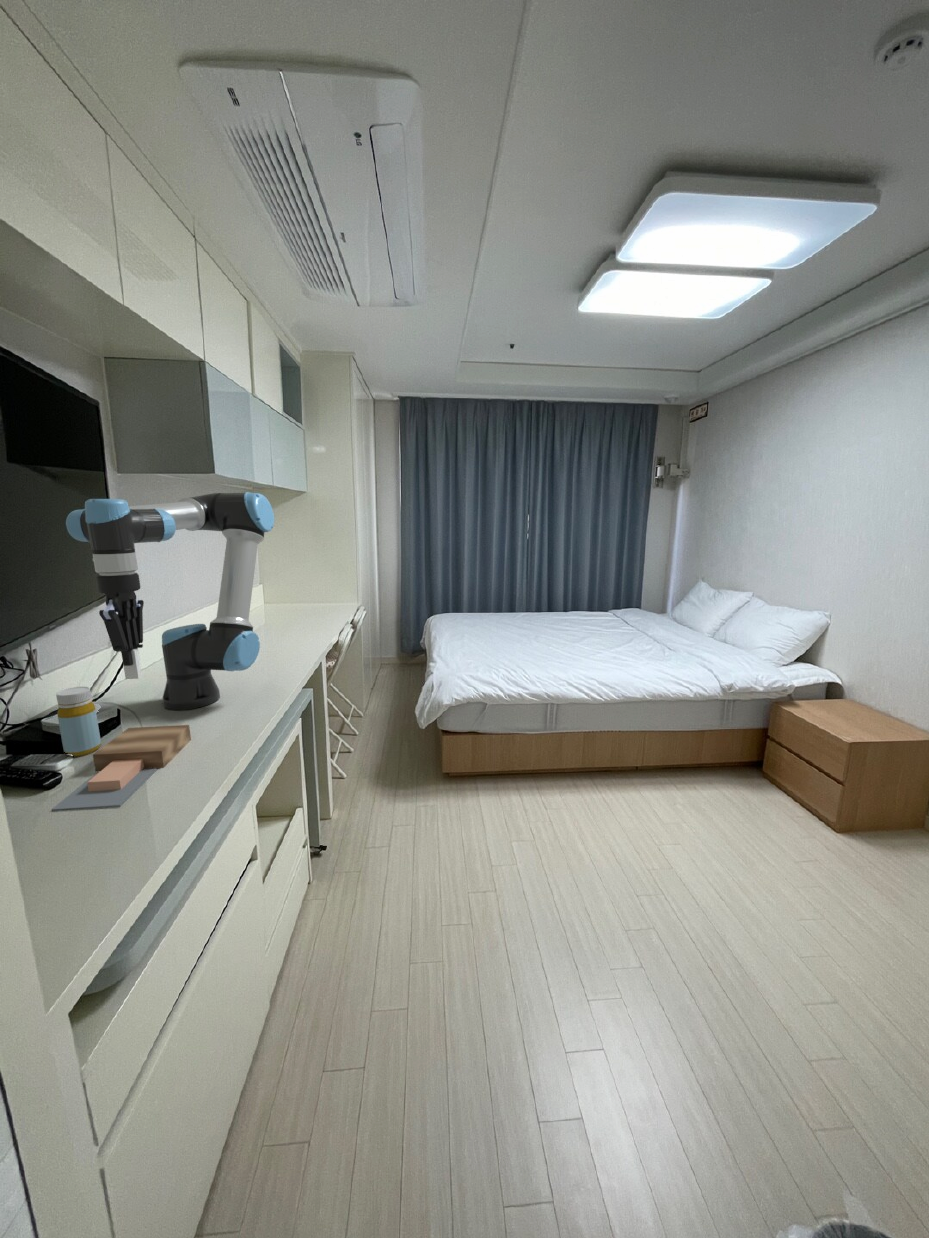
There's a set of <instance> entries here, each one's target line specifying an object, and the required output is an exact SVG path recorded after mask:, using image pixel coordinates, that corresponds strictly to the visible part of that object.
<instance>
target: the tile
mask: <svg viewBox="0 0 929 1238" xmlns="http://www.w3.org/2000/svg"><path fill="white" fill-rule="evenodd" d="M143 768H144V763H143V759H133V760H116V761H112V762H111V763H110V764H109V765H108V766H106V767H105V768H104V769H103V770H102V771H98V772H99V773H98V774H97V775H95V776H94V777H93V778H92V779H91V780H89V781H88V782H87V784H88V789H89V791H103V790H119V789H122V788H123V787H124V786H125V785H126V784H127V783H128V782H129V781H130V780H131V779H132V778H133V777H135V776H136V775H137V774H138V773H139V772H140V771H141V770H142V769H143Z"/></svg>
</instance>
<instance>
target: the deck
mask: <svg viewBox="0 0 929 1238" xmlns="http://www.w3.org/2000/svg"><path fill="white" fill-rule="evenodd" d="M191 740H192V737H191V730H190V724H179V725H162V726H159V725H157V726H156V725H155V726H139V727H138V726H137V727H135V726H134V727H128V728H126V729H125V730H124V731H122V732H121V733H119V734H118V735H117V736H115V738H113V739H112V740H110V741H109V742H108V743H106V744H105V745H104V746H102V747H101V748H99V749H98V750H96V751H95V752H93V754H92V758H93V764H94V770H95V772H100V771H102V770H103V769H104V768H105V767H106V766H108V765H109V764H110V763H111V762H112V761H116V760H133V759H143V763H144V768H143V769H163V768H165V767H166V766H167V765H168V764H169V763H170V762H171V761H172V760H173V759H174V758H175V757H176V756H177V755H178V754H179V753H180V752H181V751H182V750H183V749H184V748H185V747H186V746H187V745H188V744H189V743H190V741H191Z"/></svg>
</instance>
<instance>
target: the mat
mask: <svg viewBox="0 0 929 1238" xmlns="http://www.w3.org/2000/svg"><path fill="white" fill-rule="evenodd" d="M157 769H158V768H149V769H142V770H141V771H140V772H139V773H138V774H137V775H136V776H135V777H133V778H132V779H131V780H130V781H129V782H128V783H127V784H126V785H125V786H124V787H123V788H122V789H119V790H103V791H89V789H88V784H87V782H88V781H89V780H91V779H92V778H93V777H94V776H95V775H97V774H98V773H99V772H100V771H96V772H95V773H94V774H92V776H91V777H89V778H88V779H87V780H86V781H84V782H83V783H82V784H80V785H79V787H77V788H76V789H74V790H73V791H72V792H71V793H70V794H68V796H65V798H64V799H62V800H61V801H60V802H58V804H56V805H55V806H54V807H52V808H51V812H61V811H64V812H65V811H75V810H77V811H78V810H79V811H80V810H91V809H93V810H94V809H106V808H107V809H108V808H120V807H122V806H123V805H124V804H125V803H126V802H127V801H128V800H129V799H130V798H131V797H132V796H133V794H135V792H137V791H138V790H139V789H140V788H141V787H142V786H143V785H144V784H145V783H146V782H147V780H149V779H150V778H151V776H153V775H154V774H155V772H156V771H157Z"/></svg>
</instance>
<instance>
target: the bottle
mask: <svg viewBox="0 0 929 1238" xmlns="http://www.w3.org/2000/svg"><path fill="white" fill-rule="evenodd" d="M55 696H56V700H57V706H58V709H57V711H56V712H57V713H56V715H57V721H58V726H59V732H60V736H61V743H62V748H63V753H64V752H65V753H68V754H72V755H73V756H74V757H83V756H86V755H90V754H92V753H96V752H97V751H98V750H99V749H100V747H101V746H102V740H101V735H100V729H99V728H100V727H99V723H98V715H97V709H96V705H95V703H94V702H93V701H92V700H93V699H92V692H91V688H90V687H89V686H76V687H75V686H74V687H68V688H64V689H61V690H59V691H58V692H56V694H55ZM65 753H64V754H65Z"/></svg>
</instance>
